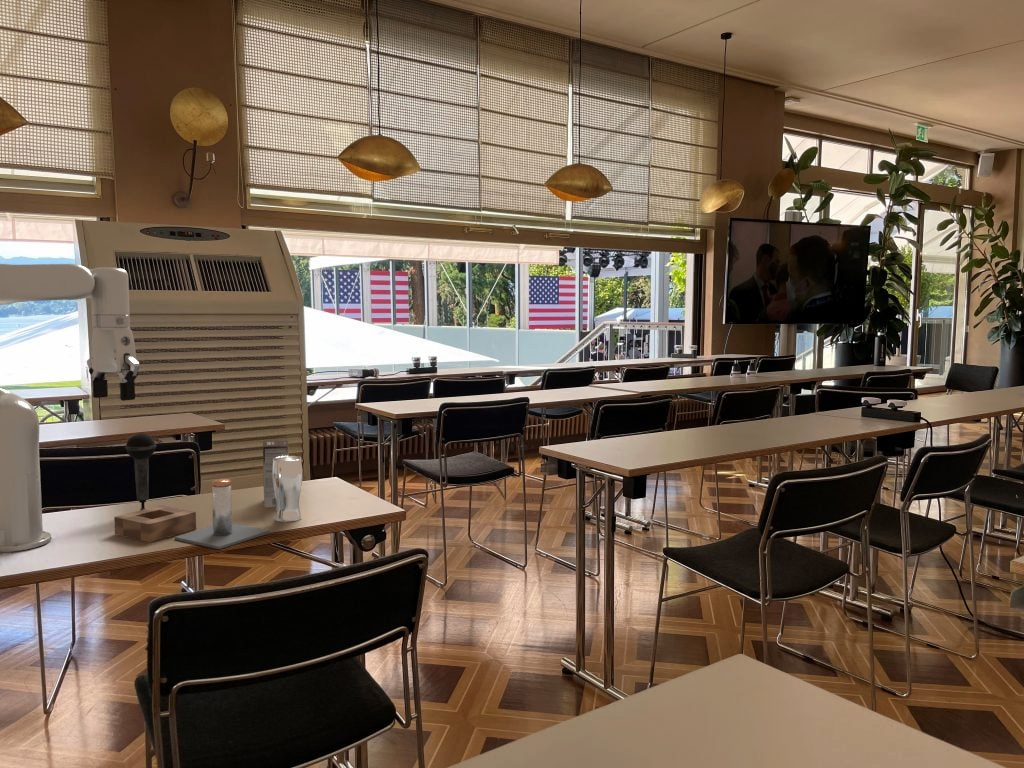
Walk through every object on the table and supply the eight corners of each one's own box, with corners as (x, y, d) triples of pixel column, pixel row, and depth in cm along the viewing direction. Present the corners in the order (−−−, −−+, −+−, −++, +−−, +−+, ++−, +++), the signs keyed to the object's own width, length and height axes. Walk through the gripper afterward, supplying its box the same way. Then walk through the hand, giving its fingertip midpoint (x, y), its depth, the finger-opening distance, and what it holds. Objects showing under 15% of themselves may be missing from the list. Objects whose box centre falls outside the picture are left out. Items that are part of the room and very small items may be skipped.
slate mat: (219, 549, 160) (219, 546, 160) (175, 539, 166) (174, 536, 166) (269, 533, 172) (269, 530, 172) (226, 524, 179) (226, 521, 178)
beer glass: (271, 517, 185) (269, 456, 184) (299, 513, 189) (298, 454, 187) (276, 524, 179) (274, 462, 178) (305, 520, 183) (304, 459, 181)
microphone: (149, 516, 185) (147, 436, 183) (122, 516, 185) (119, 435, 183) (163, 509, 191) (160, 431, 190) (136, 509, 192) (133, 431, 190)
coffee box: (264, 499, 203) (262, 440, 201) (289, 498, 205) (288, 439, 203) (263, 508, 194) (262, 446, 193) (289, 506, 196) (288, 445, 195)
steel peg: (236, 532, 170) (235, 480, 169) (221, 537, 166) (220, 483, 165) (223, 530, 172) (222, 478, 171) (209, 534, 168) (207, 481, 167)
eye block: (149, 542, 164) (149, 524, 164) (114, 534, 170) (114, 516, 169) (196, 528, 175) (195, 511, 174) (161, 521, 180) (161, 505, 180)
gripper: (151, 323, 169) (153, 399, 170) (103, 322, 177) (105, 395, 178) (120, 323, 162) (123, 402, 164) (71, 322, 170) (74, 397, 172)
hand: (114, 398), depth 171 cm, fingers open, 9 cm apart
